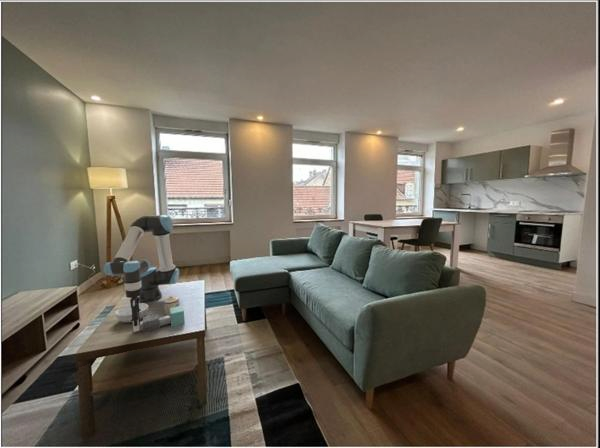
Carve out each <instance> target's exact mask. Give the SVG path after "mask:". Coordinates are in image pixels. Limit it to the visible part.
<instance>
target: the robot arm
mask: <svg viewBox="0 0 600 448" xmlns="http://www.w3.org/2000/svg"><path fill="white" fill-rule="evenodd" d="M173 229H174V223H173V220H172V218H171V217H170V216H169V215H166V214H165V215H163V214H158V215H144V216H143V215H142V216H141V217H139V218H136V220H134V221H133V222H132V223H130V226H129V228H128V230H127V231H128V232H127V234H126V236H125V238H124V240H123V242H122V243H121V245H120V247H119V248H118V249H119V250H117V253H116V254H115V256H114V258H113V260H112V261H110V262H109V261H108V262H106V263H105V264H104V265H103V272H104V274H105V275H106V276H119V275H123V276H124V277H123V278H124V284H123V287H124V288H125V297H126V298H128V299H130V301H129V303H130V305H131V308H132V320H131V321H133V322H132V332H133V333H136V332H135V331H137V332H140V331H139V319H138V311H141V309H139V303H145V304H147V303H152V302H156V301H157V300H160V299H161V298H162V296H163V294H162V291H161V290H160V286H162V285H174V284H177V282H178V281H179V277H180V269H179V268H177V267H176V264H174V263H173V255H172V247H171V240H170V234H171V233H172V231H173ZM145 233H151V234H152V236H153V237H154V238H155V241H156V242H155V243H156V248H157V255H158V256H157V257H158V260H159V267H156V266H153V267H151V264H152V263H151V261H150V260H148V259H146V258H143V259H139V260H131V257H132V256H133V254H134V252H135V249H136V248H137V245H138V243H139V241H140V239H141V237H144V235H145Z"/></svg>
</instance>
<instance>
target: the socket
mask: <svg viewBox="0 0 600 448" xmlns="http://www.w3.org/2000/svg"><path fill="white" fill-rule="evenodd" d="M170 315H171V323H170V325H171V327H172V328H173V327H176V326H181V325H184V324H185V310H184V307H183V305H179V306H177V307H173V308H170Z"/></svg>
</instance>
